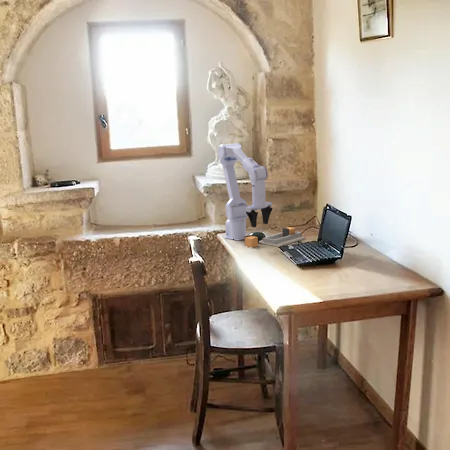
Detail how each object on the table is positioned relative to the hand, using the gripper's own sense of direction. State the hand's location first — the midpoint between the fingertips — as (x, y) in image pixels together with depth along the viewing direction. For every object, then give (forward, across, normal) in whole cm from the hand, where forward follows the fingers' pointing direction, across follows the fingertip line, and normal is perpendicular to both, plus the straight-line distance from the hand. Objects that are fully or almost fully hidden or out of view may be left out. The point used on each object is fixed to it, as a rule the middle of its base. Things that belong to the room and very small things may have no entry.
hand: (259, 225), depth 261 cm
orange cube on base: (+9, -2, +4) cm, 10 cm away
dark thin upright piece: (+10, +26, -16) cm, 32 cm away
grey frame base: (+10, +13, -2) cm, 16 cm away
